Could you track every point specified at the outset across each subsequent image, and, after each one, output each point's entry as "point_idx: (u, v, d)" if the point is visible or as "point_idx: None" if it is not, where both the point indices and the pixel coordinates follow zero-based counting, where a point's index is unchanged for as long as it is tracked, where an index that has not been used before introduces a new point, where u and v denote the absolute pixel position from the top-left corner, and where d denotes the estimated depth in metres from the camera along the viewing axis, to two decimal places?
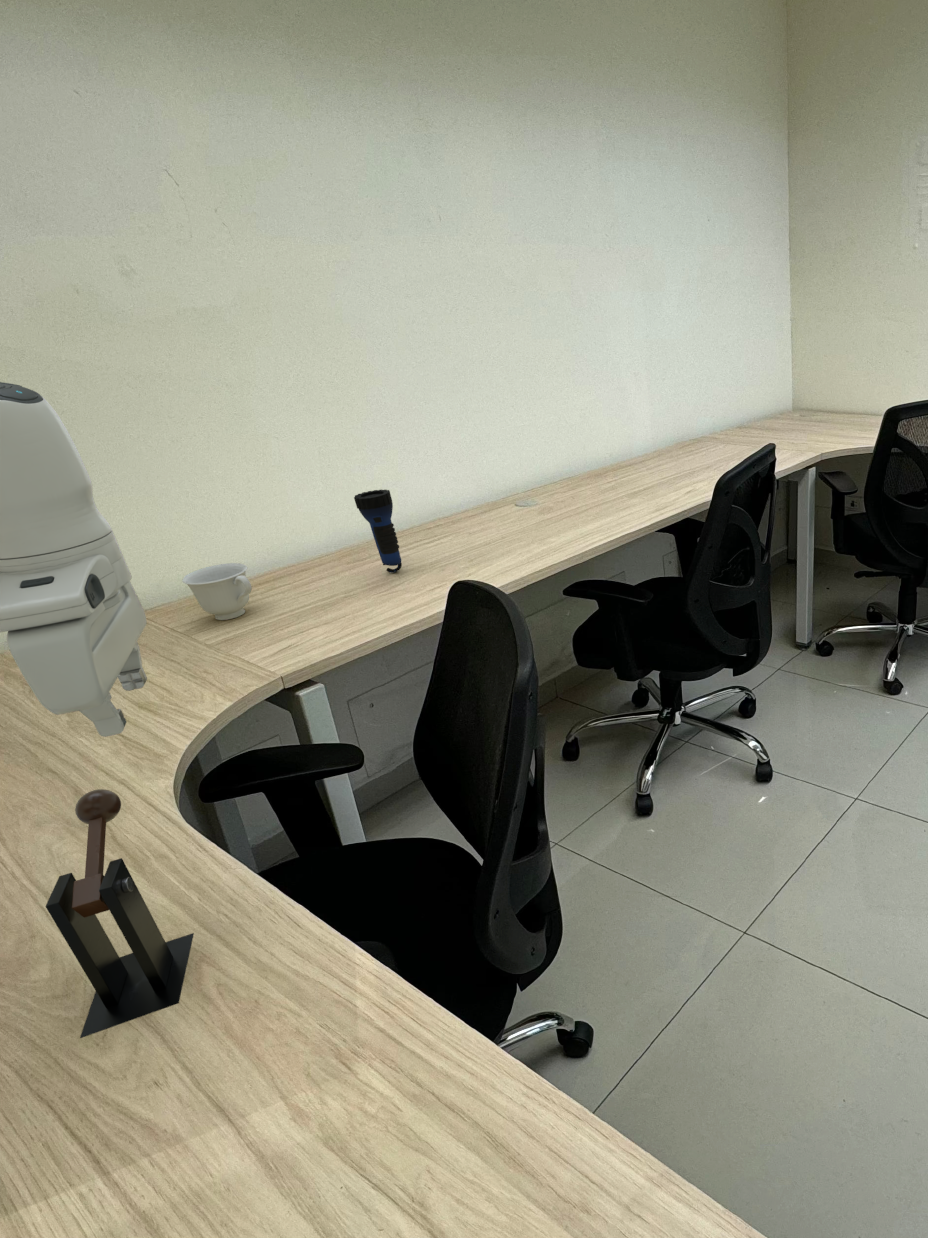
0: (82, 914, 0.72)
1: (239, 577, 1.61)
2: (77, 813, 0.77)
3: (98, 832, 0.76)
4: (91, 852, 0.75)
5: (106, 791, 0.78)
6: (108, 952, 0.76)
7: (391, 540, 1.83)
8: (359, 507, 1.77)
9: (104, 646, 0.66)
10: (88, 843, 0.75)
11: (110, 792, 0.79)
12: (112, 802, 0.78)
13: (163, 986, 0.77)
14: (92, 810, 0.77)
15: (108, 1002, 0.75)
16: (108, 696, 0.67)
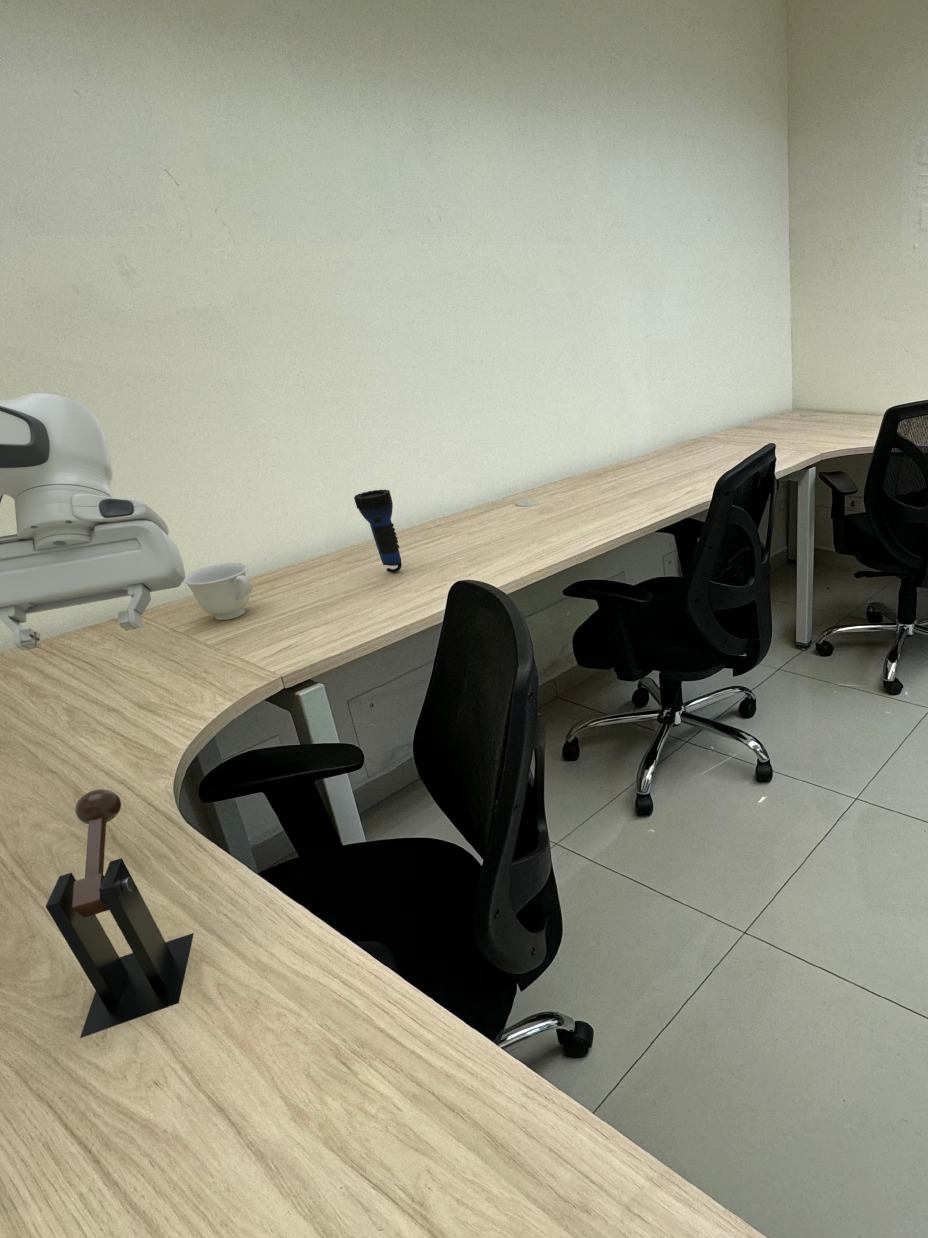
0: (82, 914, 0.72)
1: (239, 577, 1.61)
2: (77, 813, 0.77)
3: (98, 832, 0.76)
4: (91, 852, 0.75)
5: (106, 791, 0.78)
6: (108, 952, 0.76)
7: (391, 540, 1.83)
8: (359, 507, 1.77)
9: None
10: (88, 843, 0.75)
11: (110, 792, 0.79)
12: (112, 802, 0.78)
13: (163, 986, 0.77)
14: (92, 810, 0.77)
15: (108, 1002, 0.75)
16: None
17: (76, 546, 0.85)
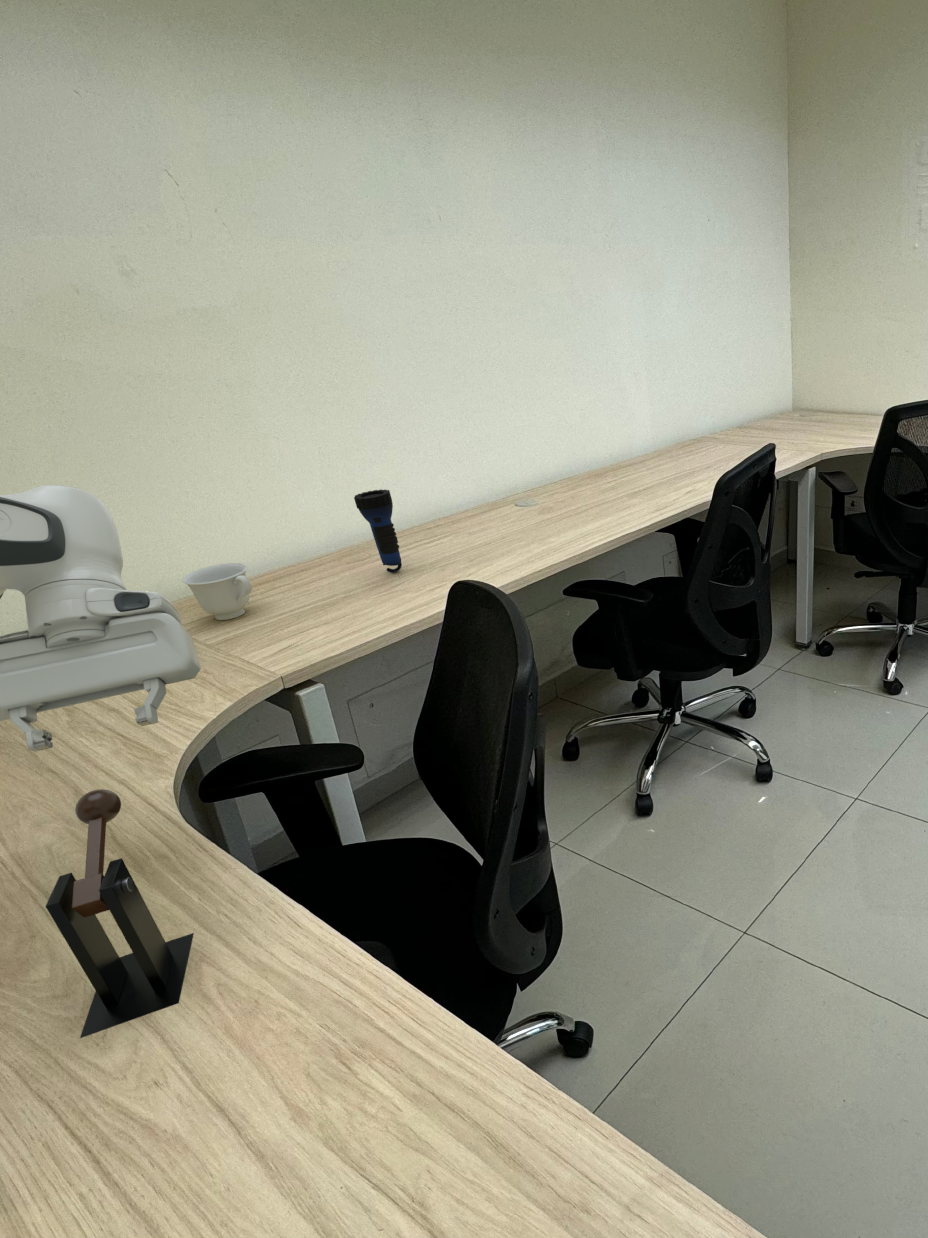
0: (82, 914, 0.72)
1: (239, 577, 1.61)
2: (77, 813, 0.77)
3: (98, 832, 0.76)
4: (91, 852, 0.75)
5: (106, 791, 0.78)
6: (108, 952, 0.76)
7: (391, 540, 1.83)
8: (359, 507, 1.77)
9: None
10: (88, 843, 0.75)
11: (110, 792, 0.79)
12: (112, 802, 0.78)
13: (163, 986, 0.77)
14: (92, 810, 0.77)
15: (108, 1002, 0.75)
16: None
17: (90, 641, 0.83)
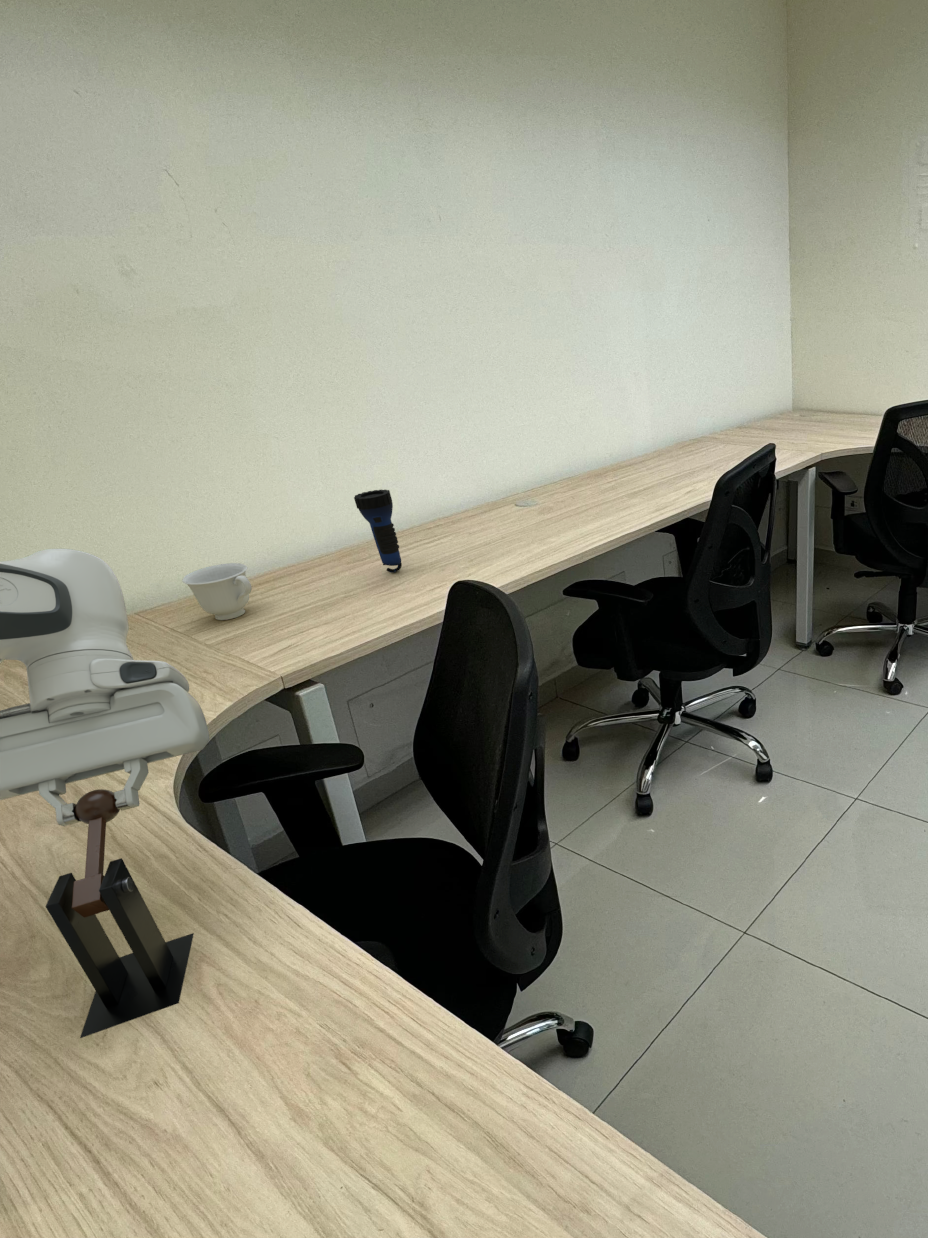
0: (82, 914, 0.72)
1: (239, 577, 1.61)
2: (77, 813, 0.77)
3: (98, 832, 0.76)
4: (91, 852, 0.75)
5: (106, 791, 0.78)
6: (108, 952, 0.76)
7: (391, 540, 1.83)
8: (359, 507, 1.77)
9: None
10: (88, 843, 0.75)
11: (110, 792, 0.79)
12: (112, 802, 0.78)
13: (163, 986, 0.77)
14: (92, 810, 0.77)
15: (108, 1002, 0.75)
16: None
17: (94, 715, 0.80)
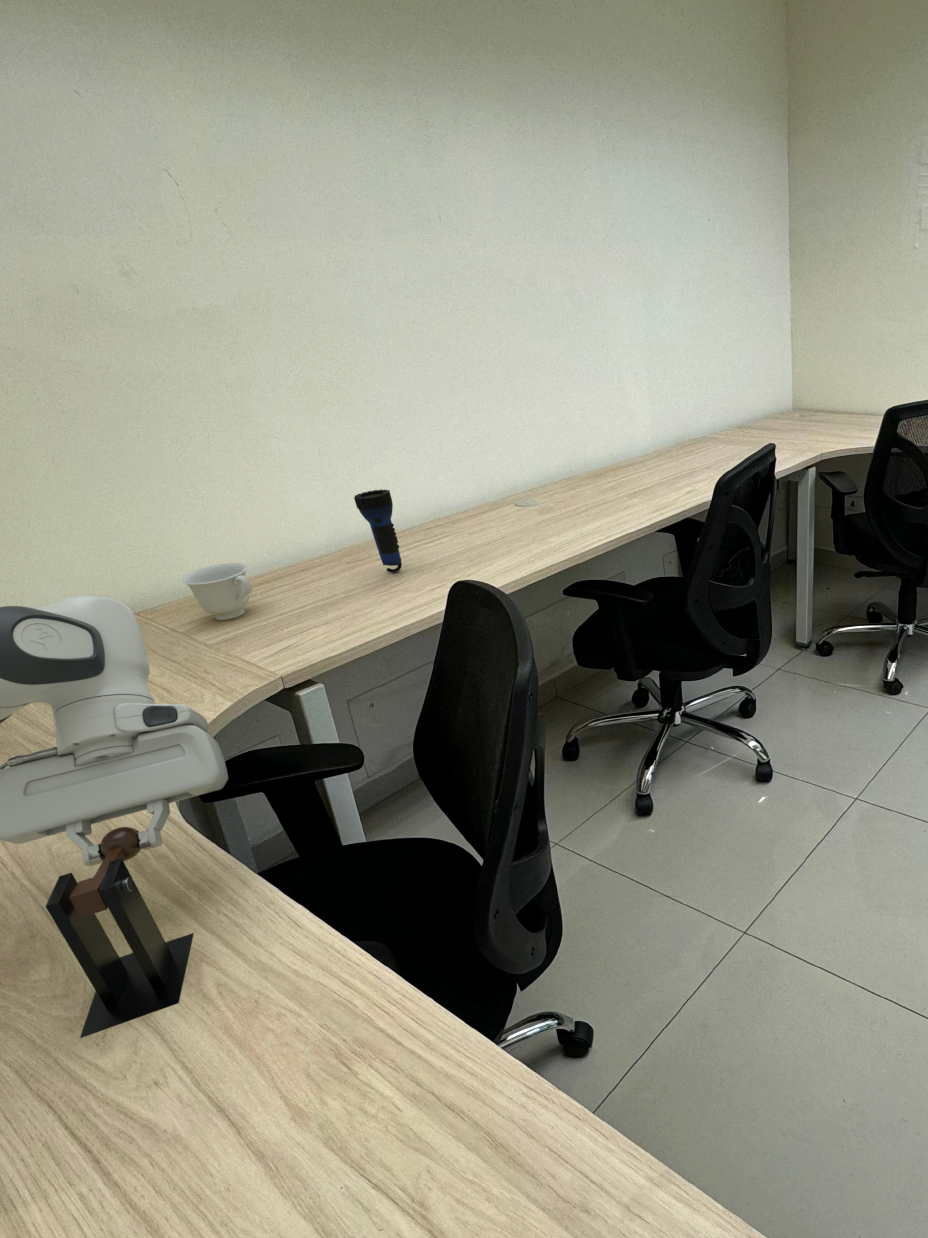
0: (78, 911, 0.71)
1: (239, 577, 1.61)
2: (101, 845, 0.80)
3: (115, 855, 0.78)
4: (103, 867, 0.76)
5: (132, 828, 0.82)
6: (108, 952, 0.76)
7: (391, 540, 1.83)
8: (359, 507, 1.77)
9: None
10: (103, 862, 0.77)
11: (135, 829, 0.82)
12: (134, 835, 0.81)
13: (163, 986, 0.77)
14: (115, 838, 0.80)
15: (108, 1002, 0.75)
16: None
17: (118, 758, 0.83)
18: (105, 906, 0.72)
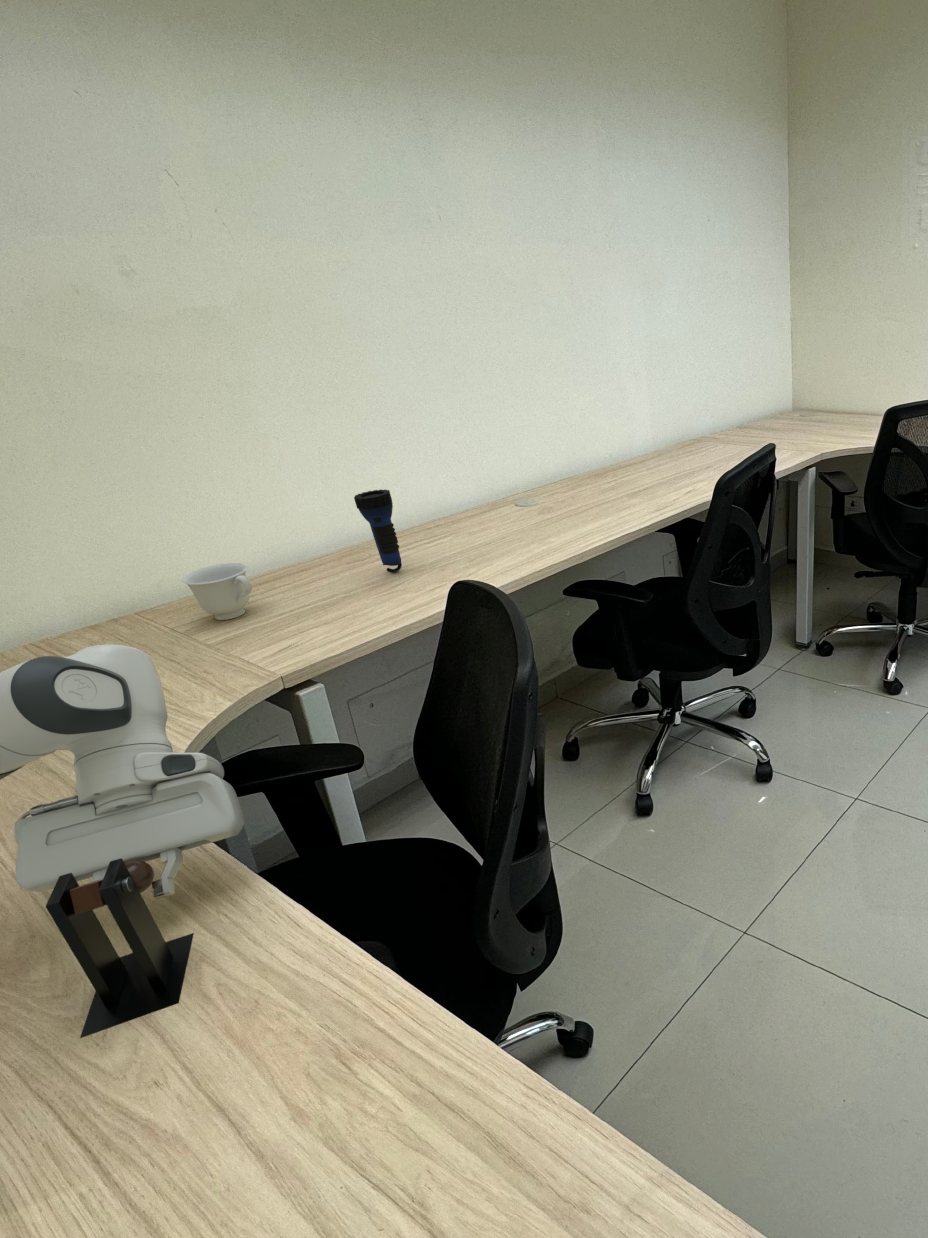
0: (75, 906, 0.71)
1: (239, 577, 1.61)
2: None
3: None
4: None
5: (145, 862, 0.83)
6: (108, 952, 0.76)
7: (391, 540, 1.83)
8: (359, 507, 1.77)
9: None
10: None
11: (148, 864, 0.83)
12: (146, 866, 0.82)
13: (163, 986, 0.77)
14: None
15: (108, 1002, 0.75)
16: None
17: (137, 806, 0.85)
18: (102, 902, 0.72)
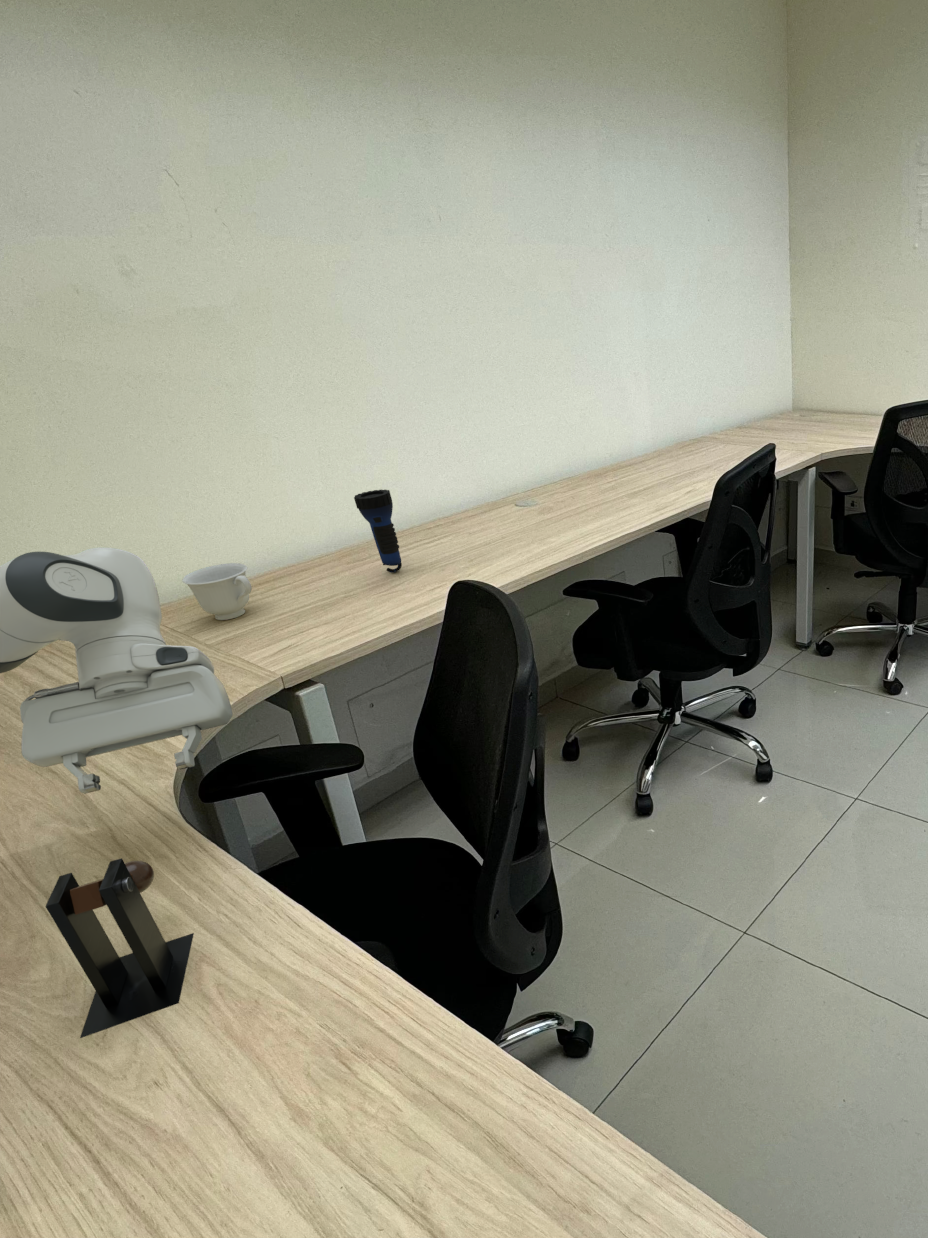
0: (75, 906, 0.71)
1: (239, 577, 1.61)
2: None
3: None
4: None
5: None
6: (108, 952, 0.76)
7: (391, 540, 1.83)
8: (359, 507, 1.77)
9: None
10: None
11: (148, 864, 0.83)
12: (146, 866, 0.82)
13: (163, 986, 0.77)
14: None
15: (108, 1002, 0.75)
16: None
17: (134, 692, 0.92)
18: (102, 902, 0.72)
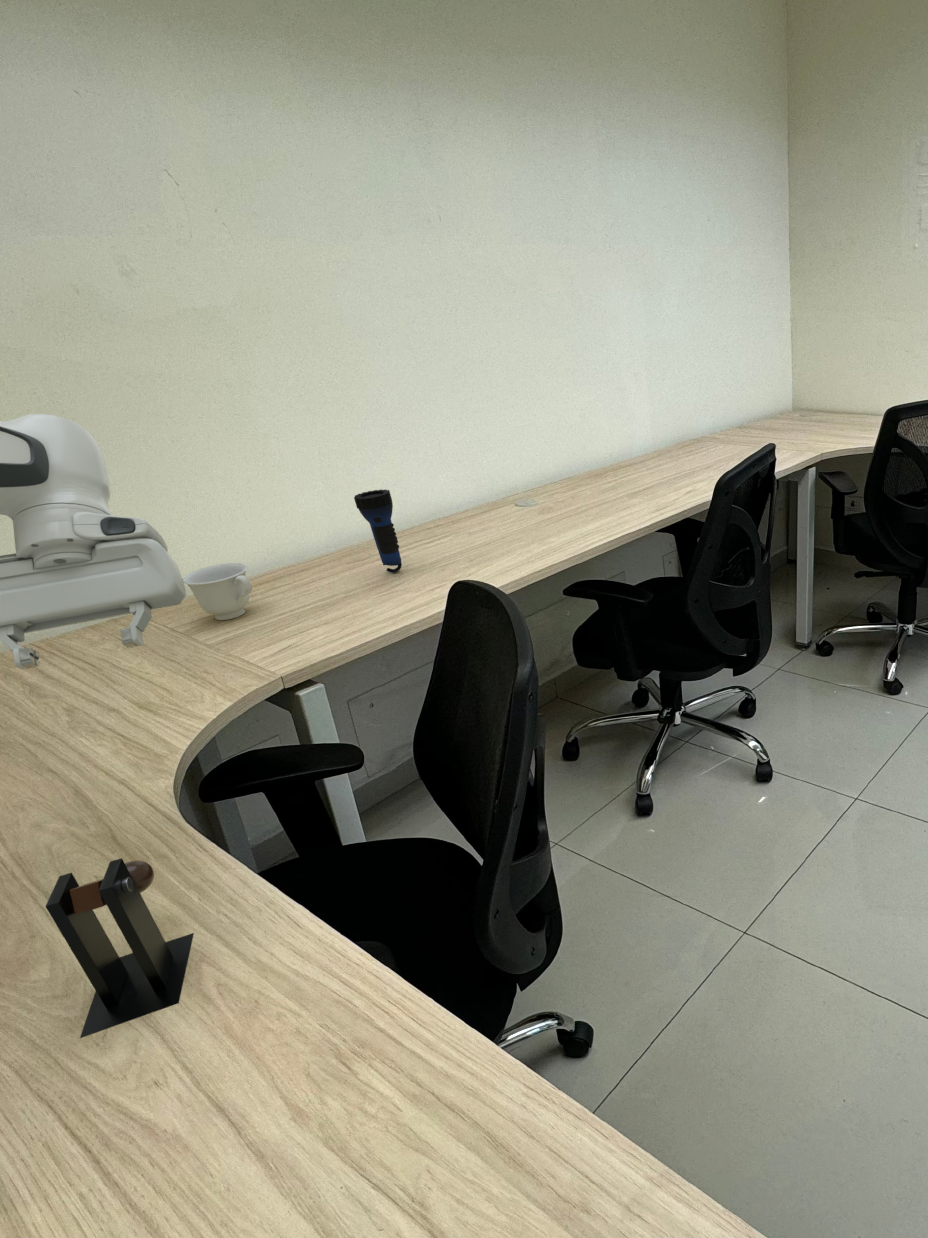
0: (75, 906, 0.71)
1: (239, 577, 1.61)
2: None
3: None
4: None
5: None
6: (108, 952, 0.76)
7: (391, 540, 1.83)
8: (359, 507, 1.77)
9: None
10: None
11: (148, 864, 0.83)
12: (146, 866, 0.82)
13: (163, 986, 0.77)
14: None
15: (108, 1002, 0.75)
16: None
17: (76, 564, 0.85)
18: (102, 902, 0.72)
